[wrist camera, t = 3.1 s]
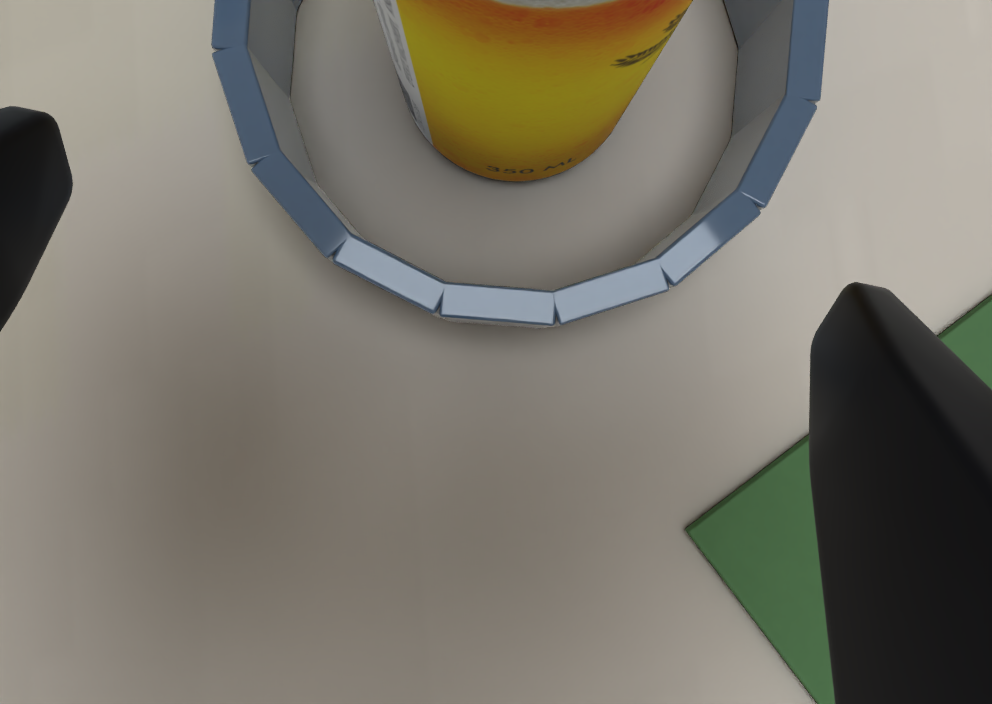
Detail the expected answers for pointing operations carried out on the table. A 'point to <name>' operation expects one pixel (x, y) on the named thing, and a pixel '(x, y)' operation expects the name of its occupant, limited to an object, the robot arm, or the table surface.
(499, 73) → the beer can
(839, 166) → the table surface
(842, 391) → the robot arm
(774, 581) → the green cloth
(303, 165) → the blue round tray
